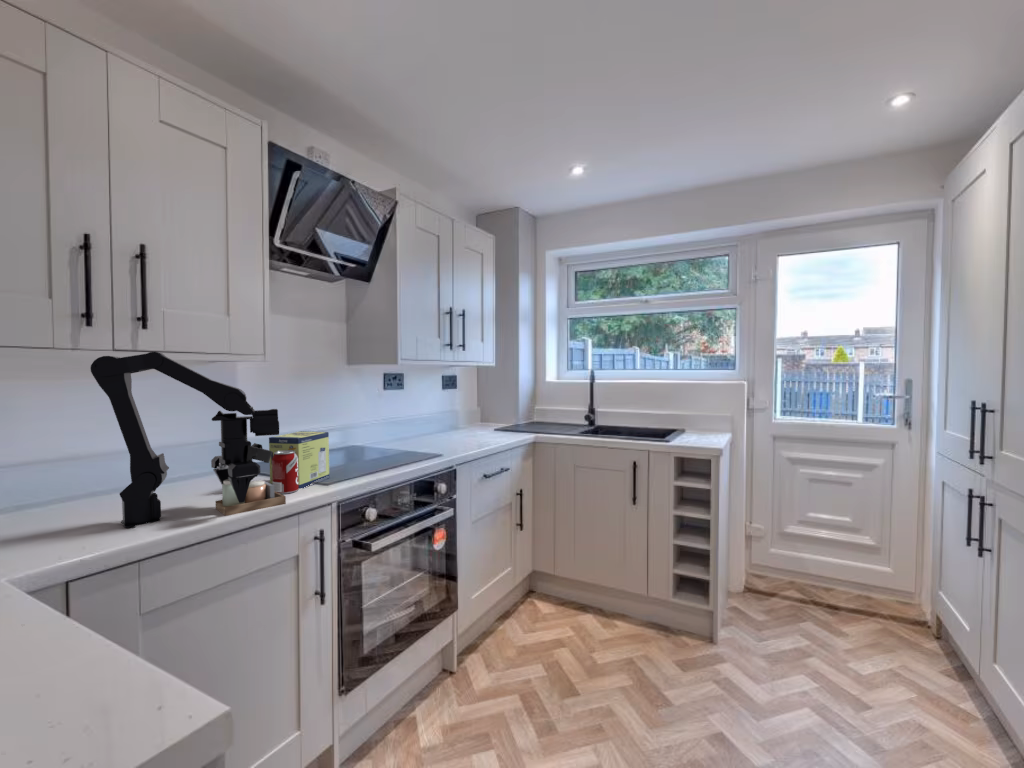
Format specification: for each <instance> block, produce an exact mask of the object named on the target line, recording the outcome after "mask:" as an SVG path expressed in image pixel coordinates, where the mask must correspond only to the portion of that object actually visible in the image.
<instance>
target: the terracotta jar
mask: <svg viewBox="0 0 1024 768" xmlns="http://www.w3.org/2000/svg"><path fill="white" fill-rule="evenodd" d="M265 481H266V480H260V479H259V480H251V481H250V484H249V487H248V491H247V494H246V498H245V503H249V502H254V501H260V500H265V499H266V484H265Z"/></svg>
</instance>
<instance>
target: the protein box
mask: <svg viewBox="0 0 1024 768" xmlns="http://www.w3.org/2000/svg"><path fill="white" fill-rule="evenodd" d="M329 433H330V432H329V431H314V430H313V431H311V430H310V431H309V430H308V431H307V430H300V431H295V432H291V433H286V434H281V435H280V434H279V435H274V436H271V437H270V436H269V437H268V450H269V451H273V452H272V455H271V458H270V461H269V483H270V484H273V480H272V458H273V457H274V455H275V454H274V452H277V451H283V450H294V451H295V454H296V455H297V456H298V486H299V489H301V488H303V489H305V488H307V487H306V486H308V485H310V484H311V483H312V482H314V481H316V480H318V479H321V478H324V477H326V476H329V477H330V450H329V449H330V444H329V443H330V441H329V439H330V438H329ZM304 487H305V488H304ZM308 487H309V486H308ZM299 489H298V490H299Z"/></svg>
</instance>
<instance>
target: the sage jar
mask: <svg viewBox="0 0 1024 768" xmlns="http://www.w3.org/2000/svg"><path fill="white" fill-rule="evenodd" d="M221 494H222V495H221V496H222V497H221V498H222V499H221V500H222V503H223V506H233V505H239V504H244V503H245V501H244V502H242V503H239V501H238V499H237V497H236V494H235V492H234V490H233V487H232V485H231V483H230V481H229V479H227V480H224V481H223V484H221Z"/></svg>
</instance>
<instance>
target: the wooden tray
mask: <svg viewBox="0 0 1024 768" xmlns="http://www.w3.org/2000/svg"><path fill="white" fill-rule="evenodd" d="M274 496H275V498H270V499H265V500H260V501H254V502H249V503H244V504H239V505H233V506H223V503H222V499H219V500H218V499H217V500H215V510H216V511H218V512H220V513H221V514H222V515H224V516H225V517H227V516H232V515H238V514H242V513H248V512H252V511H257V510H263V509H268V508H273V507H277V506H283V505H286V503H287V502H286V501H287V500H286V498H287V497H286V496H285V494H280V493H277V492H275V491H274Z"/></svg>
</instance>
